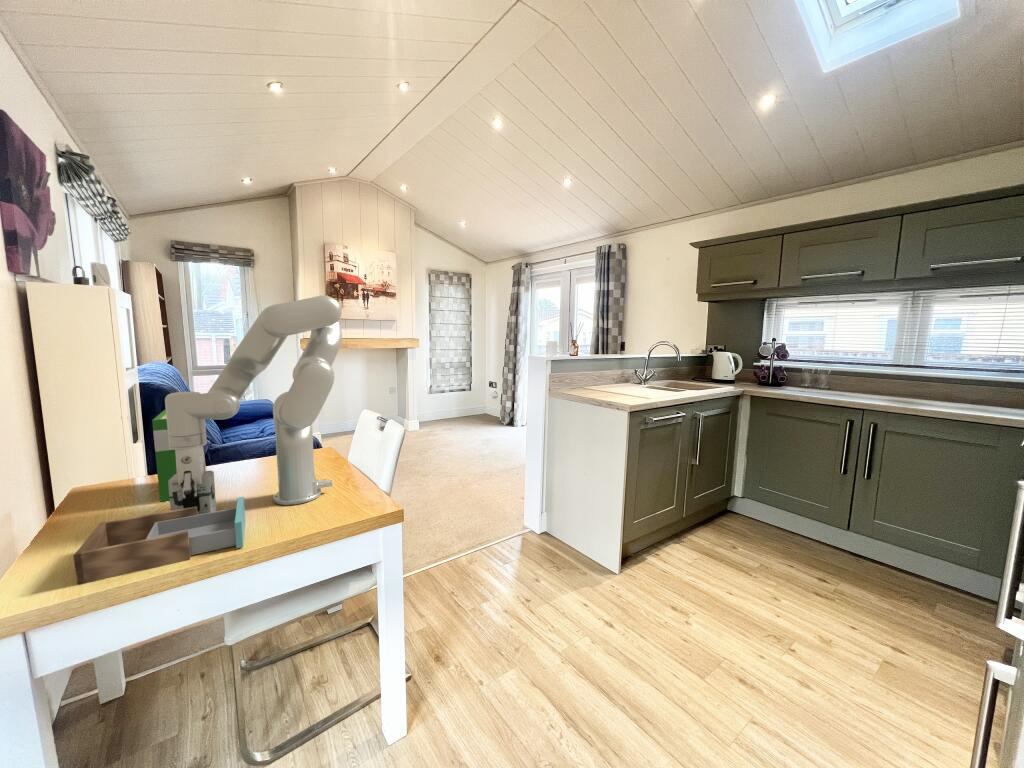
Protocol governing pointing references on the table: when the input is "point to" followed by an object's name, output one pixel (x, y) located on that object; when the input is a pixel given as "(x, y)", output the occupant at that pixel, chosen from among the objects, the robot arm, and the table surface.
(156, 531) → the tray
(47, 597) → the table surface
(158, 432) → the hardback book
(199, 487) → the ink box
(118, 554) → the storage unit
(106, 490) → the table surface
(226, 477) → the table surface
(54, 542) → the table surface
